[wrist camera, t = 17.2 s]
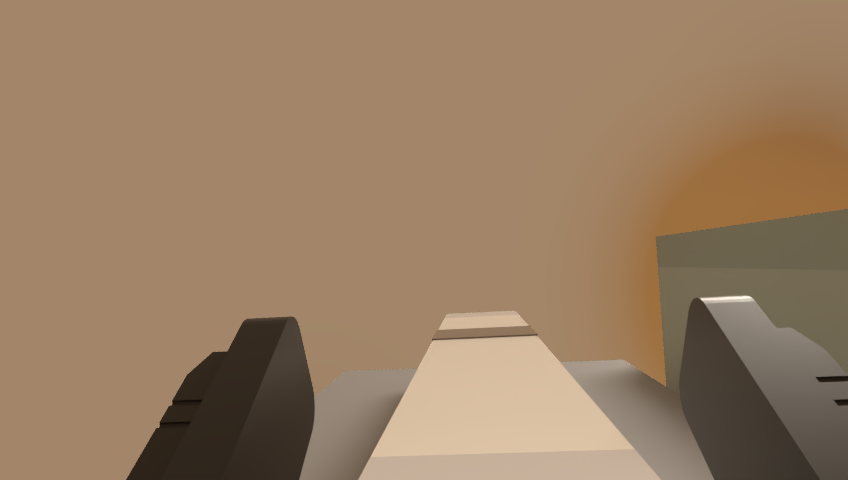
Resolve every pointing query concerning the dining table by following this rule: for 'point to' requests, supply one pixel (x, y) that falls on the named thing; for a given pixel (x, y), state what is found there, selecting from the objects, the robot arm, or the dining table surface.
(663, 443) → the block
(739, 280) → the sage green tall pillar
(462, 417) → the pale wooden bar
